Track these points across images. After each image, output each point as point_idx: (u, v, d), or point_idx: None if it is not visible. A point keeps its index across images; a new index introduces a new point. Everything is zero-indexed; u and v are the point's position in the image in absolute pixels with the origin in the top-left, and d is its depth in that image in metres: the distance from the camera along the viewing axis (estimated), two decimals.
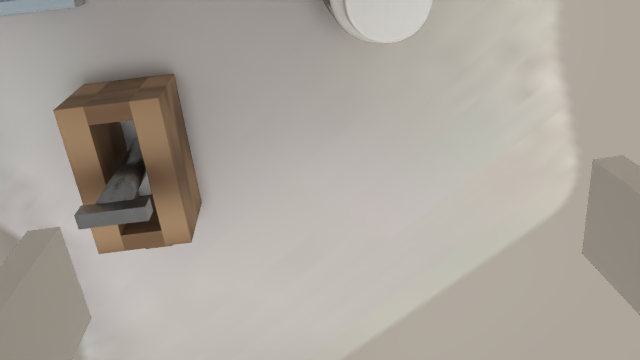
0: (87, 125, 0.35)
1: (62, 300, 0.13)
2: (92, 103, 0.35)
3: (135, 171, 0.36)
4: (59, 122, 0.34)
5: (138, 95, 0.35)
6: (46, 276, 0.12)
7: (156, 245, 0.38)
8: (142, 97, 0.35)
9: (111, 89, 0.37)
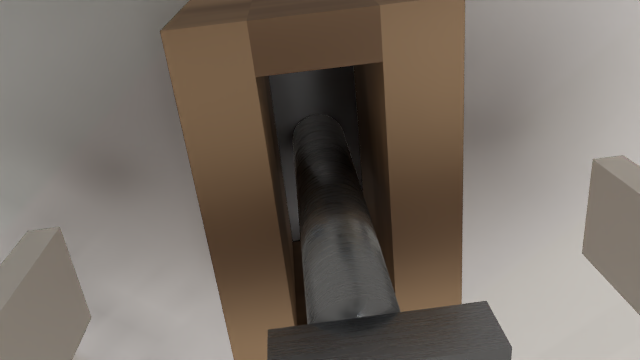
0: (252, 77, 0.12)
1: (62, 300, 0.13)
2: (266, 14, 0.12)
3: (361, 203, 0.14)
4: (174, 68, 0.12)
5: None
6: (45, 276, 0.12)
7: None
8: None
9: None
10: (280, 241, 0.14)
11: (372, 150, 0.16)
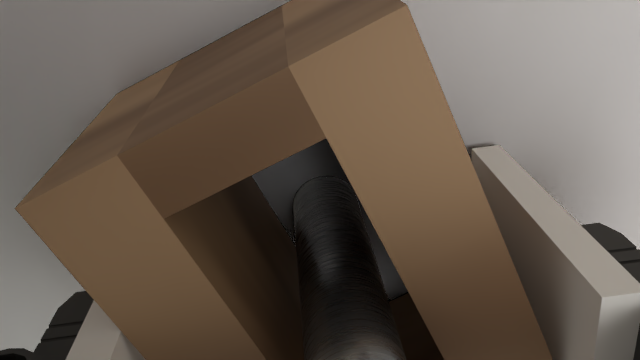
0: (160, 220, 0.09)
1: None
2: (149, 129, 0.09)
3: (355, 318, 0.10)
4: (56, 244, 0.09)
5: (305, 38, 0.09)
6: None
7: None
8: (330, 34, 0.08)
9: (195, 69, 0.11)
10: None
11: None
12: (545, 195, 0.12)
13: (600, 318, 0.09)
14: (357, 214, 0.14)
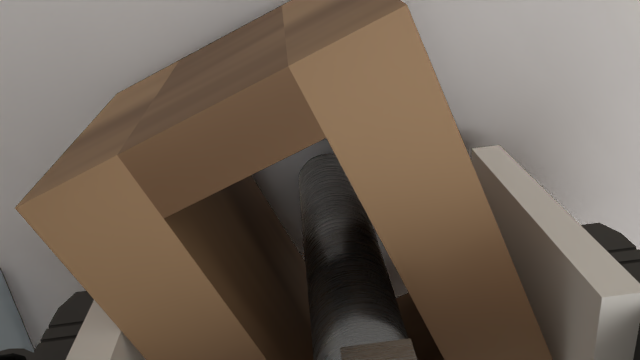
0: (160, 219, 0.09)
1: None
2: (149, 129, 0.09)
3: (320, 277, 0.11)
4: (56, 244, 0.09)
5: (305, 38, 0.09)
6: None
7: None
8: (330, 34, 0.08)
9: (195, 69, 0.11)
10: None
11: None
12: (545, 195, 0.12)
13: (600, 318, 0.09)
14: (333, 178, 0.15)
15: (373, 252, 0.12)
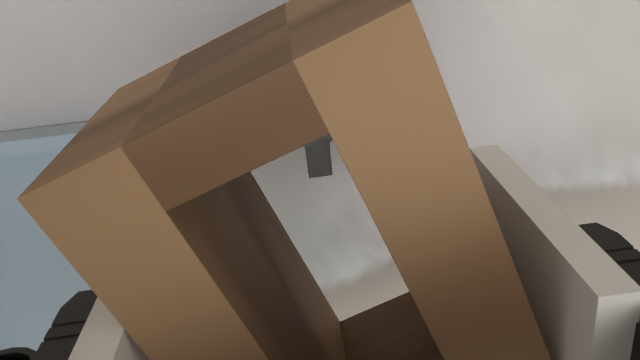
0: (162, 213, 0.09)
1: None
2: (152, 122, 0.09)
3: None
4: (57, 236, 0.09)
5: (309, 33, 0.09)
6: None
7: None
8: (334, 30, 0.08)
9: (198, 64, 0.11)
10: None
11: None
12: (542, 195, 0.12)
13: (597, 317, 0.09)
14: None
15: None
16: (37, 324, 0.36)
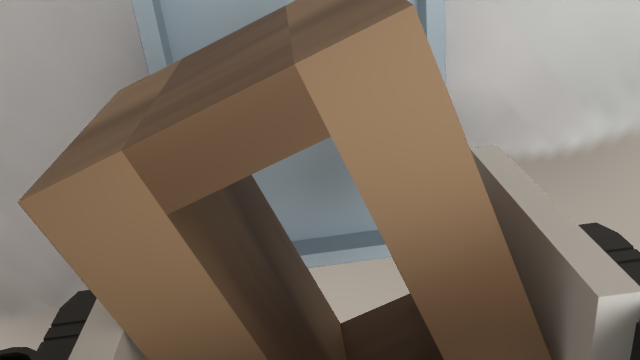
0: (163, 216, 0.09)
1: None
2: (154, 125, 0.09)
3: None
4: (58, 239, 0.09)
5: (311, 37, 0.09)
6: None
7: None
8: (336, 33, 0.08)
9: (199, 67, 0.11)
10: None
11: None
12: (542, 195, 0.12)
13: (597, 317, 0.09)
14: None
15: None
16: (271, 172, 0.28)
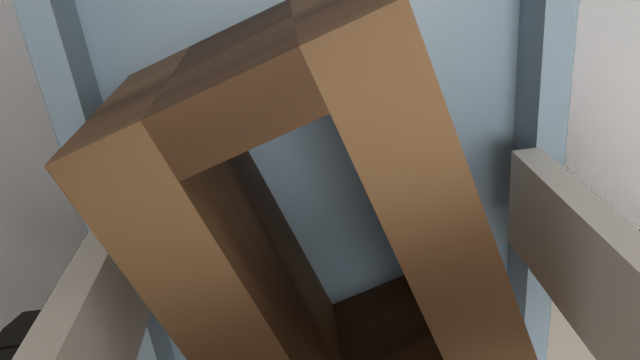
0: (176, 183, 0.09)
1: None
2: (169, 100, 0.09)
3: None
4: (79, 202, 0.09)
5: (314, 24, 0.10)
6: None
7: None
8: (337, 21, 0.09)
9: (208, 52, 0.12)
10: (286, 353, 0.11)
11: None
12: (597, 199, 0.12)
13: None
14: None
15: None
16: None
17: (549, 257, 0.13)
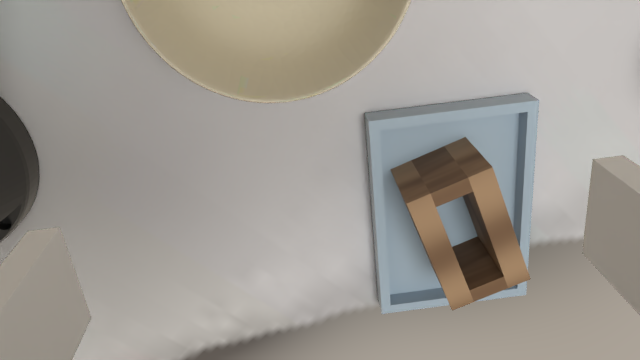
0: (435, 207, 0.39)
1: (62, 300, 0.13)
2: (433, 187, 0.39)
3: None
4: (412, 212, 0.39)
5: (467, 168, 0.40)
6: (45, 276, 0.12)
7: (500, 290, 0.43)
8: (474, 170, 0.39)
9: (428, 168, 0.42)
10: (454, 252, 0.41)
11: (474, 210, 0.43)
12: None
13: None
14: None
15: None
16: None
17: None
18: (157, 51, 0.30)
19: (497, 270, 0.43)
